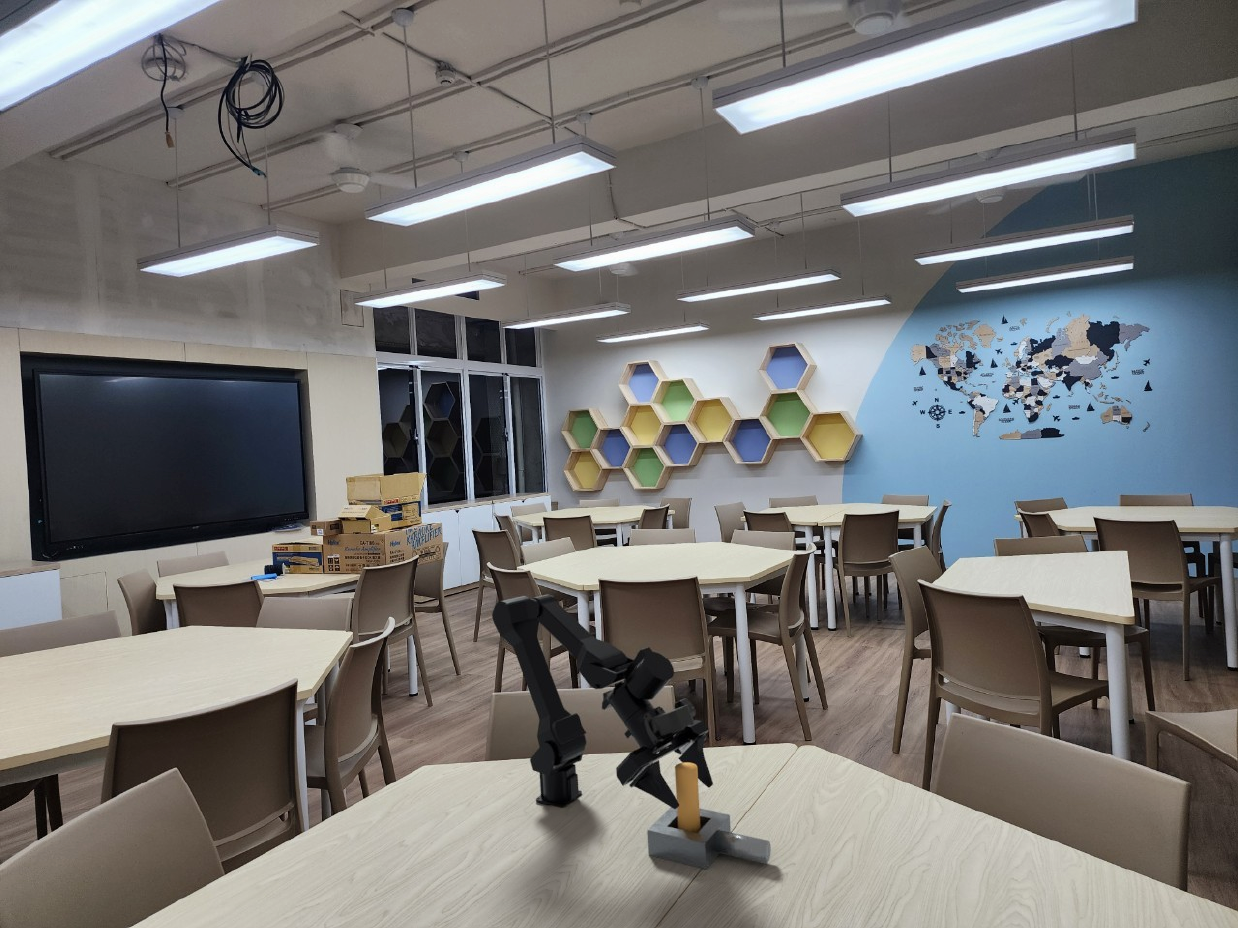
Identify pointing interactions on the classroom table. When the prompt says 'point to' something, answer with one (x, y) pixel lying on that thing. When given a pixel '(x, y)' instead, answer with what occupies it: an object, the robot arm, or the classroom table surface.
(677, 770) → the orange cylinder
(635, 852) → the classroom table surface
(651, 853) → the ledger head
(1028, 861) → the classroom table surface
